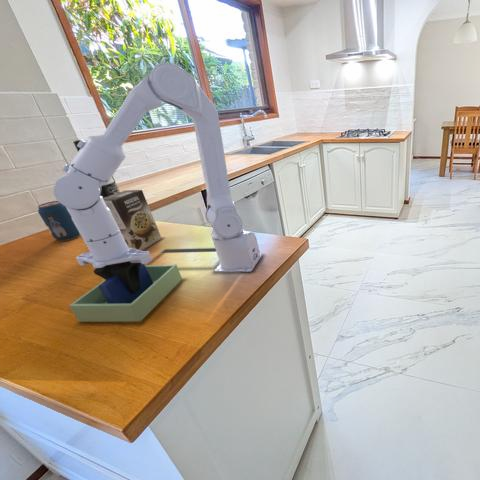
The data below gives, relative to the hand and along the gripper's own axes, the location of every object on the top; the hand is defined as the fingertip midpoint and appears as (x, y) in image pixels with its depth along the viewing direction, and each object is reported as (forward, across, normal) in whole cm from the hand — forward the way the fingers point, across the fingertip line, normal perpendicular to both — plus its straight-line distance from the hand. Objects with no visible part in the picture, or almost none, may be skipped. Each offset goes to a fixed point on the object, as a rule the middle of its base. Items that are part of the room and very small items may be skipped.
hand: (131, 290), depth 62 cm
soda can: (+3, -50, +33) cm, 60 cm away
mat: (+2, +2, +17) cm, 17 cm away
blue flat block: (+2, 0, 0) cm, 2 cm away
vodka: (+3, -32, +35) cm, 47 cm away
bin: (+2, 0, 0) cm, 2 cm away
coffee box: (+3, -18, +26) cm, 32 cm away
